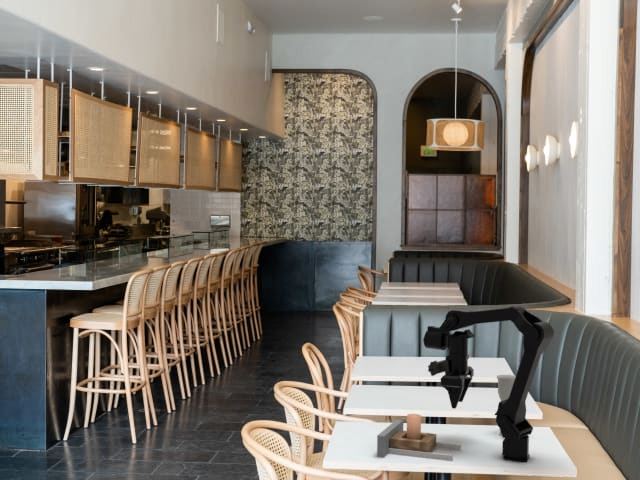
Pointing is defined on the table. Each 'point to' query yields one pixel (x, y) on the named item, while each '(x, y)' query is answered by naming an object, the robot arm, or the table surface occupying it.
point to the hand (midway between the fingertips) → (457, 404)
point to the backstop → (385, 449)
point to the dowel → (414, 426)
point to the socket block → (413, 442)
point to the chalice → (505, 387)
